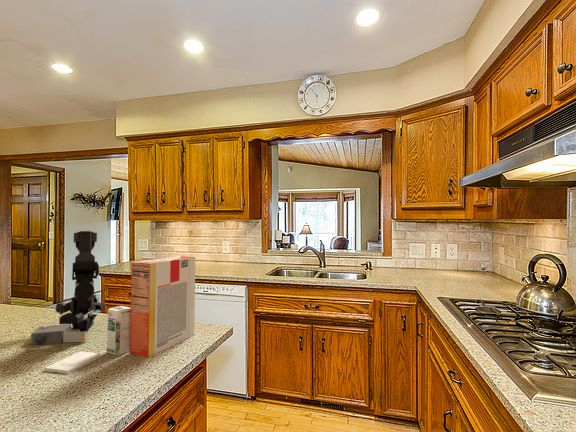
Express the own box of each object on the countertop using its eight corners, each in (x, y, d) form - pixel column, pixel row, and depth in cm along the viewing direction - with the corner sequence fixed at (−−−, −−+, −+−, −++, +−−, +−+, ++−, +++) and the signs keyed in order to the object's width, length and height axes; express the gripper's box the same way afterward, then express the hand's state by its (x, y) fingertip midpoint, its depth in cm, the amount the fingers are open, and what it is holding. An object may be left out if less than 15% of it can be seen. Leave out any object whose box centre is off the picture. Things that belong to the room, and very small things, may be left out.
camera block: (70, 334, 126) (71, 322, 126) (63, 342, 117) (63, 330, 117) (39, 337, 122) (39, 325, 122) (29, 346, 114) (29, 332, 114)
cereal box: (177, 332, 130) (178, 256, 130) (194, 334, 126) (195, 257, 127) (129, 353, 108) (131, 262, 109) (148, 357, 105) (150, 263, 106)
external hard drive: (100, 358, 105) (67, 376, 93) (79, 356, 107) (43, 372, 95) (100, 353, 105) (67, 370, 93) (79, 351, 107) (43, 367, 95)
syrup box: (105, 353, 108) (106, 308, 109) (122, 347, 114) (122, 305, 114) (116, 356, 106) (117, 311, 106) (132, 350, 111) (133, 307, 111)
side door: (84, 342, 117) (84, 332, 117) (59, 342, 116) (59, 332, 116) (86, 341, 118) (87, 331, 118) (62, 341, 118) (62, 331, 118)
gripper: (77, 288, 129) (76, 327, 129) (43, 299, 110) (42, 345, 110) (106, 288, 129) (105, 327, 129) (77, 299, 111) (76, 346, 110)
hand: (83, 336), depth 120 cm, fingers closed
